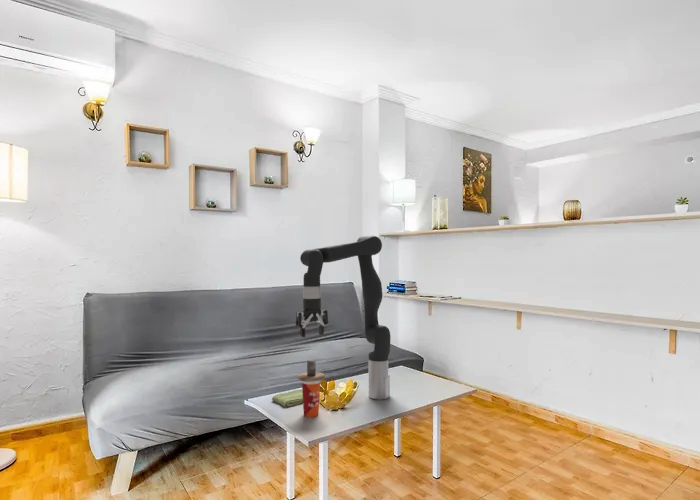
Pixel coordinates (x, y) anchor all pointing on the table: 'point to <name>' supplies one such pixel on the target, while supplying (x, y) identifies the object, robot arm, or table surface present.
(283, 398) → the washcloth
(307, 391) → the coffee cup
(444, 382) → the table surface
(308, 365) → the walnut lid
